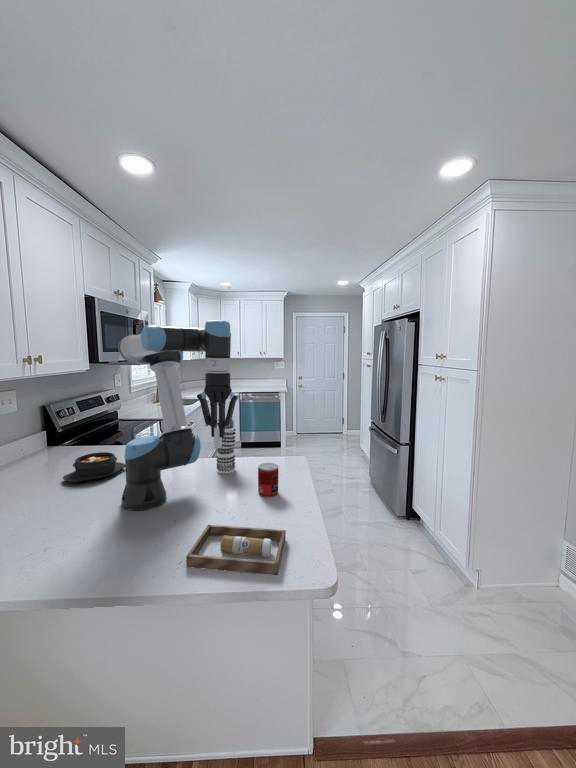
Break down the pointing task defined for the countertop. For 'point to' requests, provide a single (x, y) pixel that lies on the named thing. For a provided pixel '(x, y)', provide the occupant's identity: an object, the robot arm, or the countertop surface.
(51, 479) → the countertop surface
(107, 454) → the casserole
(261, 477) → the canned food
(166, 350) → the robot arm
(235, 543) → the sprinkles bottle
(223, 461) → the decorative candle
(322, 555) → the countertop surface
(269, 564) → the frame
